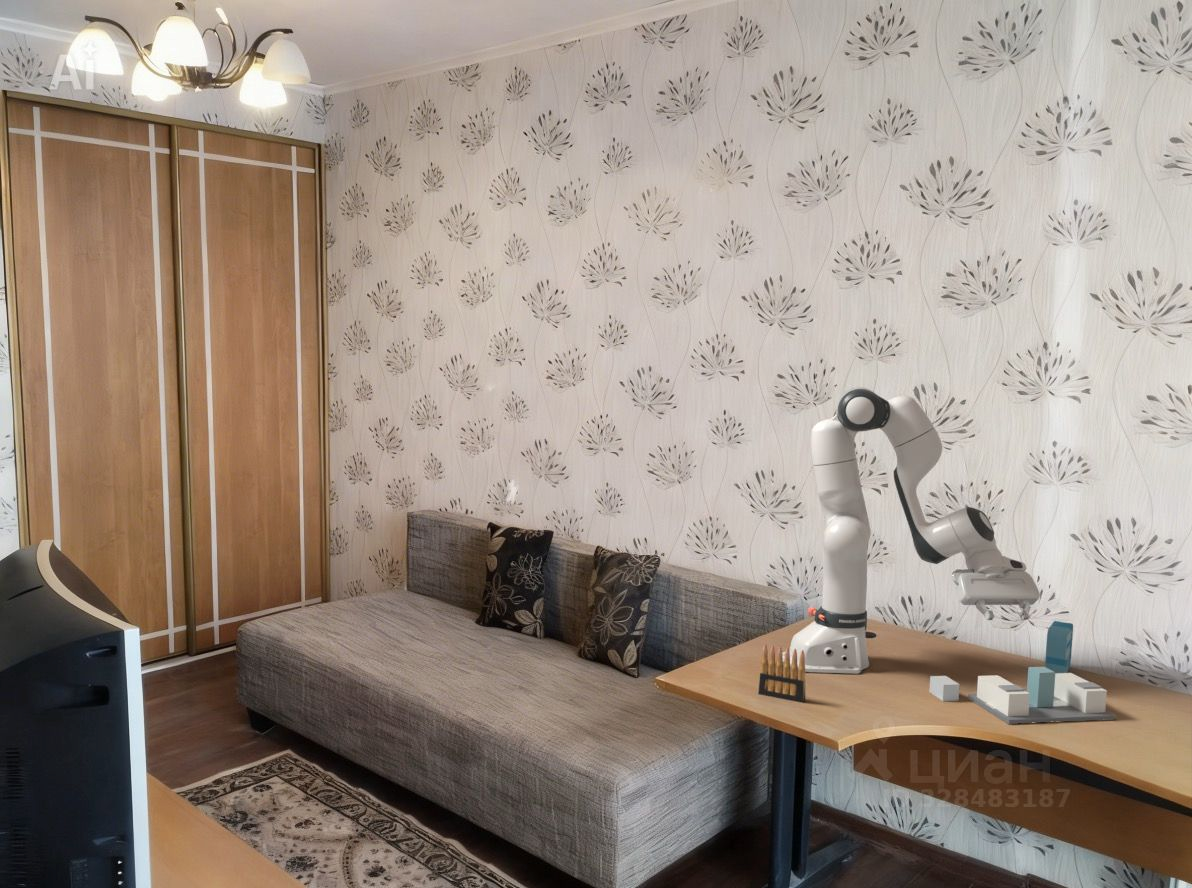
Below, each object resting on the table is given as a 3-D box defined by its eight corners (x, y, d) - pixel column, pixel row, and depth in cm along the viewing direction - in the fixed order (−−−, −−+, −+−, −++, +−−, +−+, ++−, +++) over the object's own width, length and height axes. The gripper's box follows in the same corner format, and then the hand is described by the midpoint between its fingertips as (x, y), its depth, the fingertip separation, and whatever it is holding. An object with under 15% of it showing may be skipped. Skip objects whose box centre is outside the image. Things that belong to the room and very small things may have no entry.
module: (1037, 707, 209) (1039, 672, 209) (1026, 701, 213) (1028, 667, 213) (1053, 706, 210) (1055, 672, 209) (1041, 700, 214) (1044, 666, 213)
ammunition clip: (805, 700, 213) (807, 649, 212) (803, 702, 212) (805, 651, 211) (760, 691, 218) (762, 642, 217) (758, 694, 217) (760, 644, 216)
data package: (1063, 679, 233) (1067, 632, 232) (1044, 675, 235) (1047, 629, 234) (1070, 667, 243) (1073, 622, 242) (1051, 663, 245) (1054, 619, 244)
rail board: (1008, 724, 202) (1009, 719, 202) (967, 698, 217) (968, 693, 217) (1115, 719, 206) (1115, 714, 206) (1067, 694, 222) (1067, 689, 222)
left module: (1007, 716, 204) (1009, 692, 203) (976, 696, 215) (978, 674, 215) (1028, 715, 205) (1030, 691, 204) (996, 696, 216) (997, 673, 216)
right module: (1085, 713, 207) (1086, 689, 206) (1050, 694, 219) (1052, 671, 218) (1105, 712, 208) (1106, 688, 207) (1069, 693, 219) (1071, 671, 219)
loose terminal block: (942, 701, 215) (943, 684, 215) (929, 692, 221) (930, 676, 221) (958, 701, 216) (959, 684, 215) (944, 692, 222) (945, 675, 221)
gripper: (955, 562, 228) (974, 612, 219) (1030, 563, 231) (1052, 612, 222) (944, 576, 232) (962, 625, 224) (1018, 576, 236) (1039, 624, 227)
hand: (1008, 618), depth 223 cm, fingers open, 8 cm apart
